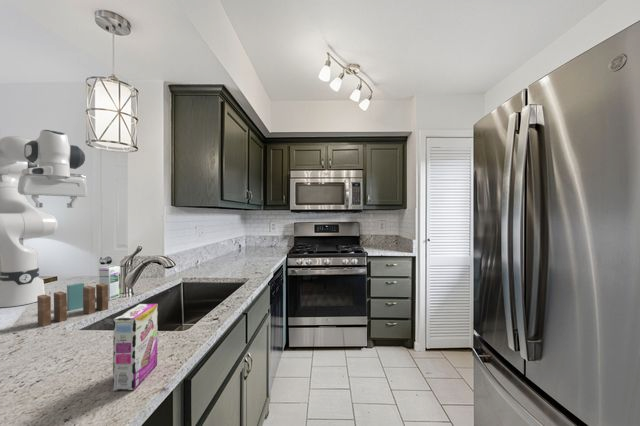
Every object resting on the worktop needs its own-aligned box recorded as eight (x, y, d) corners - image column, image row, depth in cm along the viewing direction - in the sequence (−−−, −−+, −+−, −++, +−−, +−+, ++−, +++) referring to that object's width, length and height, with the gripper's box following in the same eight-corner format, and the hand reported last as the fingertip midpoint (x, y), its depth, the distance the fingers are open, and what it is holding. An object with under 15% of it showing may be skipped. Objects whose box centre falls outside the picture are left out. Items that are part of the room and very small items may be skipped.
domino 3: (67, 309, 117) (66, 285, 117) (82, 306, 122) (81, 282, 122) (69, 310, 116) (69, 286, 116) (84, 307, 121) (84, 283, 121)
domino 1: (43, 326, 101) (43, 297, 101) (37, 323, 103) (37, 295, 103) (51, 324, 103) (50, 296, 102) (45, 321, 105) (44, 294, 105)
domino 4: (89, 314, 113) (89, 288, 112) (83, 312, 115) (83, 286, 115) (95, 312, 114) (95, 287, 114) (89, 310, 117) (88, 285, 117)
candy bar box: (135, 391, 65) (135, 318, 65) (112, 392, 65) (111, 319, 64) (159, 364, 76) (158, 302, 76) (139, 365, 76) (138, 303, 76)
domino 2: (59, 322, 105) (59, 294, 105) (54, 319, 107) (53, 292, 107) (66, 320, 106) (66, 293, 106) (60, 317, 109) (60, 291, 109)
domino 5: (102, 310, 117) (102, 285, 116) (96, 308, 119) (96, 284, 119) (108, 309, 118) (107, 284, 118) (101, 307, 121) (101, 283, 121)
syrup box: (109, 300, 129) (109, 268, 129) (98, 299, 131) (98, 267, 130) (120, 296, 135) (120, 265, 135) (110, 296, 136) (110, 265, 136)
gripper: (83, 175, 124) (83, 207, 124) (15, 169, 106) (16, 207, 106) (90, 174, 121) (90, 207, 121) (22, 168, 103) (22, 207, 103)
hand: (55, 207), depth 113 cm, fingers open, 8 cm apart
